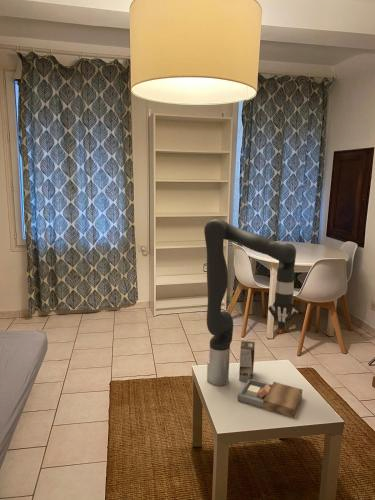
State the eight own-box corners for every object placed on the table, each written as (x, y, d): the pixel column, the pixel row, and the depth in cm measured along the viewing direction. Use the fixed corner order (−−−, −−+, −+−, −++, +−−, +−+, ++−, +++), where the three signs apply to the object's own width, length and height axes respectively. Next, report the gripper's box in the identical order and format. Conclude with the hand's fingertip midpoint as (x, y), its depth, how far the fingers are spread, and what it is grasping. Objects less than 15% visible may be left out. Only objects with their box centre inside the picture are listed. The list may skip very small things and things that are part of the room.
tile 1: (257, 392, 165) (257, 396, 165) (260, 387, 169) (260, 391, 169) (247, 389, 167) (247, 394, 167) (250, 384, 171) (250, 389, 171)
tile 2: (261, 398, 164) (257, 394, 165) (263, 393, 168) (260, 389, 169) (267, 392, 162) (264, 389, 163) (270, 387, 166) (267, 384, 167)
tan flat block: (262, 408, 158) (263, 400, 158) (273, 389, 172) (273, 381, 171) (293, 418, 153) (294, 409, 152) (301, 397, 167) (302, 389, 166)
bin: (237, 401, 163) (237, 394, 163) (249, 384, 176) (249, 378, 176) (262, 408, 158) (263, 402, 158) (272, 391, 171) (273, 384, 171)
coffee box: (252, 382, 178) (254, 350, 175) (238, 380, 179) (240, 348, 176) (253, 372, 187) (255, 341, 184) (239, 370, 188) (241, 340, 185)
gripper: (266, 290, 163) (264, 329, 166) (298, 295, 157) (295, 335, 160) (271, 286, 169) (269, 323, 173) (302, 291, 163) (298, 329, 167)
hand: (281, 329), depth 167 cm, fingers closed
